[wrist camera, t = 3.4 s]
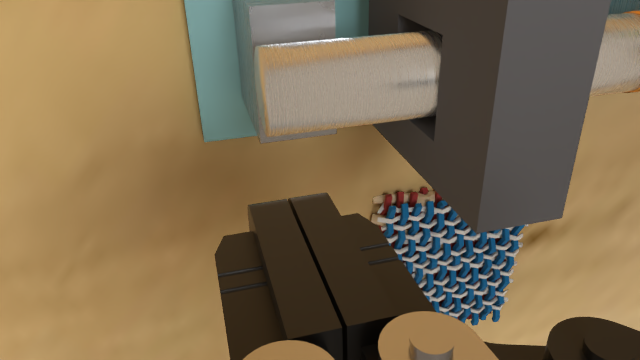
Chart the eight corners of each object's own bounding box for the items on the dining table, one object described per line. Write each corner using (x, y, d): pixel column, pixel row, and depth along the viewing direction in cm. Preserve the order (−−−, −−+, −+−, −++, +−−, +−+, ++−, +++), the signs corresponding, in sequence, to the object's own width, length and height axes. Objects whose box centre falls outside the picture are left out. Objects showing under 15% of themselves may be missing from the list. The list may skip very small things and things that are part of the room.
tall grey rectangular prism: (367, 118, 24) (476, 233, 16) (369, -44, 21) (509, -9, 13) (426, 111, 25) (561, 218, 17) (437, -47, 22) (614, -17, 13)
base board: (203, 134, 26) (204, 143, 25) (174, -66, 22) (174, -65, 21) (641, 80, 31) (656, 86, 30) (686, -87, 27) (706, -87, 26)
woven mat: (524, 171, 33) (544, 186, 31) (491, 303, 38) (507, 322, 36) (369, 184, 30) (381, 201, 29) (354, 324, 35) (364, 346, 34)
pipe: (241, 97, 25) (275, 179, 17) (230, -15, 22) (263, 24, 15) (634, 54, 29) (792, 104, 22) (659, -42, 27) (845, -23, 20)
